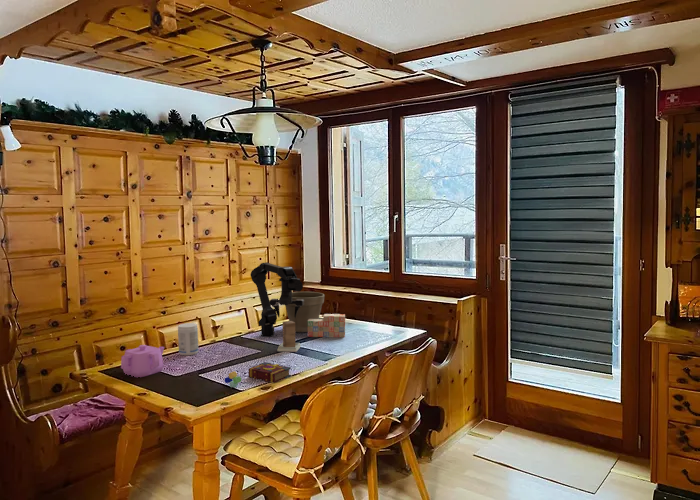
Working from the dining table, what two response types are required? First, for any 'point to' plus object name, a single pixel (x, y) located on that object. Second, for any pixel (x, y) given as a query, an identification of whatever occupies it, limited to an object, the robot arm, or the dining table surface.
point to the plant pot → (305, 309)
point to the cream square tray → (289, 348)
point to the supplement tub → (188, 339)
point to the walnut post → (288, 334)
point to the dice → (233, 379)
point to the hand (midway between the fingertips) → (287, 317)
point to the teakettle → (142, 361)
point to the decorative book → (269, 372)
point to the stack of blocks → (327, 326)
